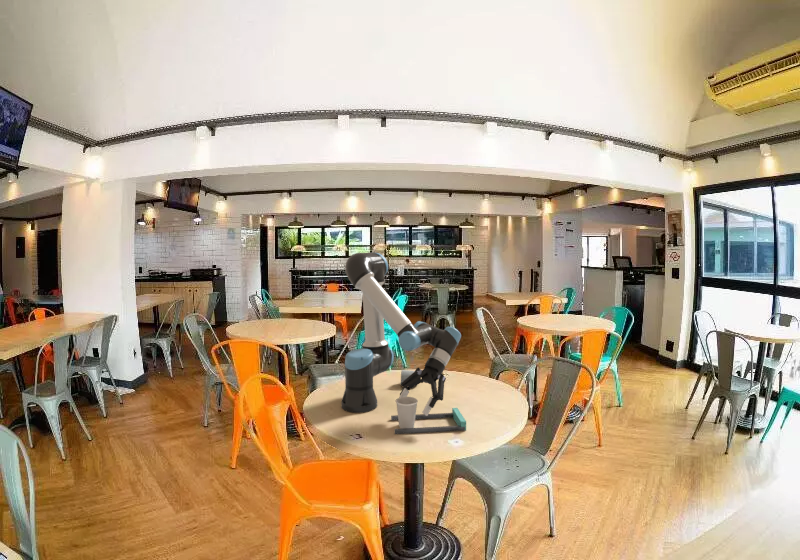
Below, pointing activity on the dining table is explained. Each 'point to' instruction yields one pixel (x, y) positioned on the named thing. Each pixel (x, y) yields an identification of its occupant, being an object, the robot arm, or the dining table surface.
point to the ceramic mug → (405, 374)
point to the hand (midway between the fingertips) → (411, 409)
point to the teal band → (458, 418)
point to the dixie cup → (406, 411)
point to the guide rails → (428, 429)
